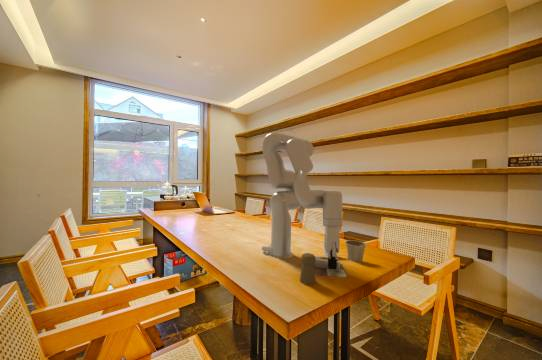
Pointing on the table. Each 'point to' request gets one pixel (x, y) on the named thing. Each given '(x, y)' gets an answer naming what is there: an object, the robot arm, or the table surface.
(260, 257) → the table surface
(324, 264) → the jaw
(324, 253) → the shot glass
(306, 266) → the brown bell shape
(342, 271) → the board
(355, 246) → the flower pot
